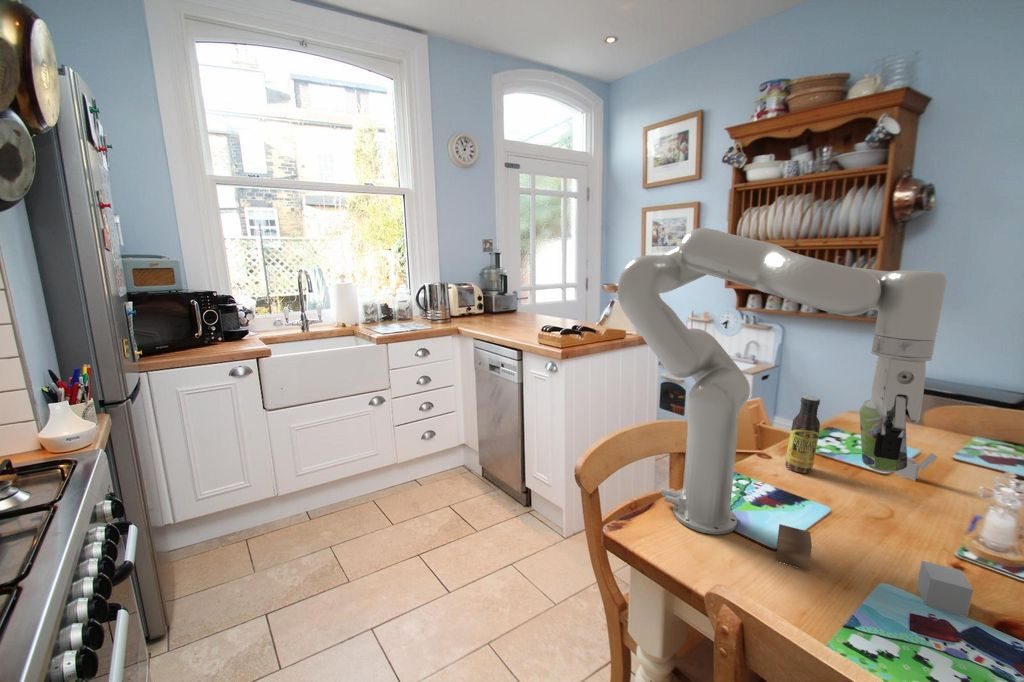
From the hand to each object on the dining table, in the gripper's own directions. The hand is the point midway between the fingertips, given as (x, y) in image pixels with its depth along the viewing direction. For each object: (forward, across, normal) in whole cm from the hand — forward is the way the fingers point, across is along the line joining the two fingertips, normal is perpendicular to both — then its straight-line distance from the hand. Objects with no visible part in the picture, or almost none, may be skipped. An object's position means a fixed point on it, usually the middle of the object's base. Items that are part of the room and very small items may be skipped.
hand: (883, 452), depth 76 cm
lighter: (+23, +49, -17) cm, 57 cm away
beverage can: (+4, +2, 0) cm, 4 cm away
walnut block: (+23, -2, +11) cm, 26 cm away
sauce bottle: (+23, +41, +8) cm, 48 cm away
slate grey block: (+23, -2, -10) cm, 25 cm away
